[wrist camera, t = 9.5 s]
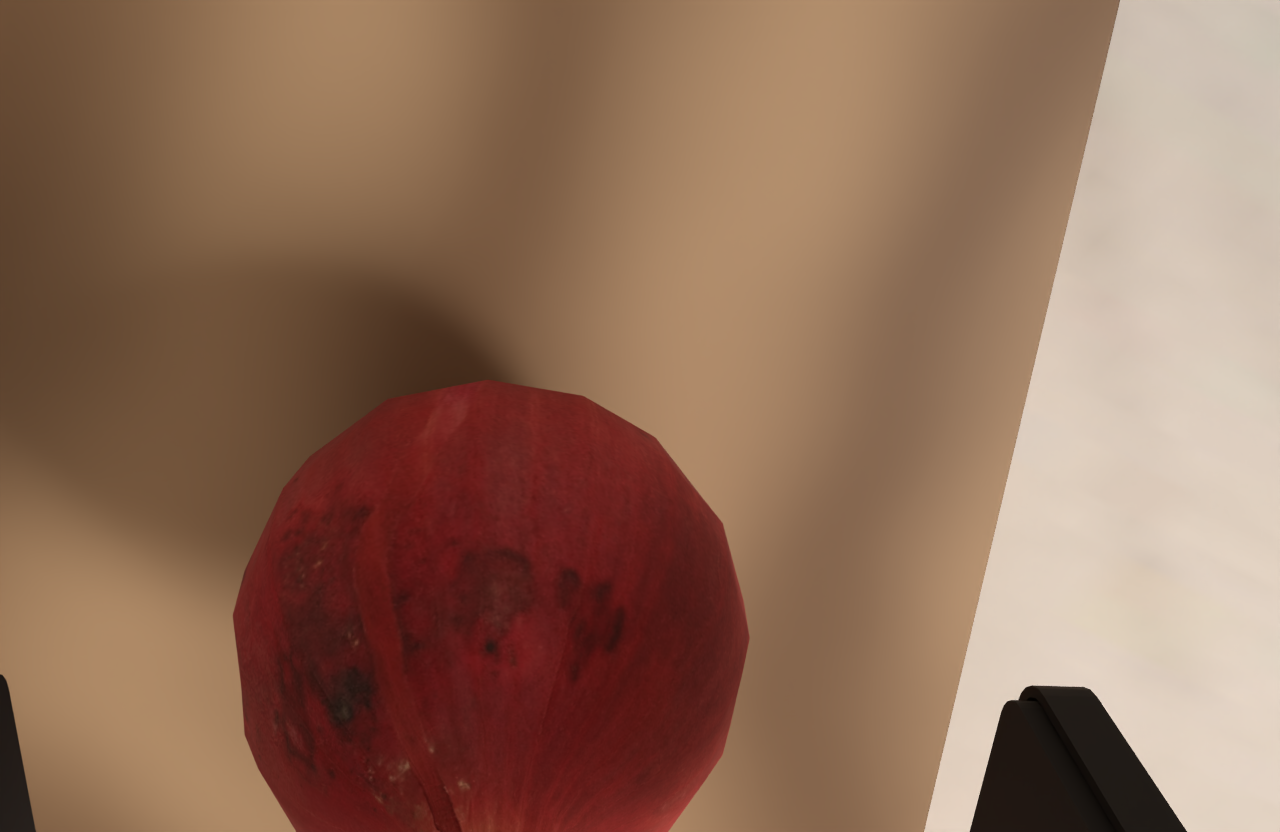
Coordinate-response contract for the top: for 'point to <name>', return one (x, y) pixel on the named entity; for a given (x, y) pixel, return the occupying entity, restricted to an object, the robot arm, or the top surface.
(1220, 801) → the top surface
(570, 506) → the onion
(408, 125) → the board
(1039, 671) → the top surface
